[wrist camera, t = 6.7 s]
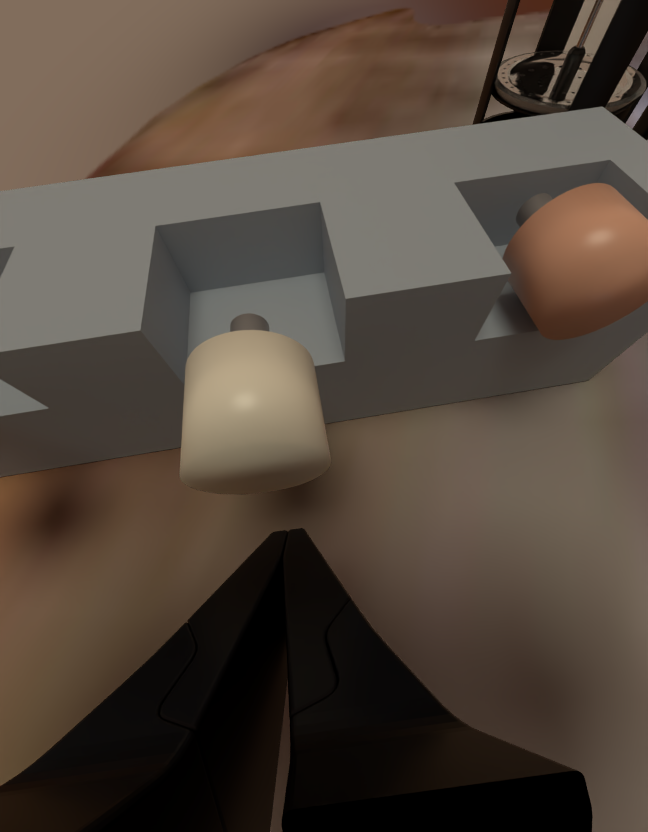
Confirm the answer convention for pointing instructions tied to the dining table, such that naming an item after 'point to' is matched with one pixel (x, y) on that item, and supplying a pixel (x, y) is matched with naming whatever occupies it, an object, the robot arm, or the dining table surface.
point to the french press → (571, 67)
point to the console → (292, 279)
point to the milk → (597, 28)
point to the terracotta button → (579, 260)
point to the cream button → (251, 413)
